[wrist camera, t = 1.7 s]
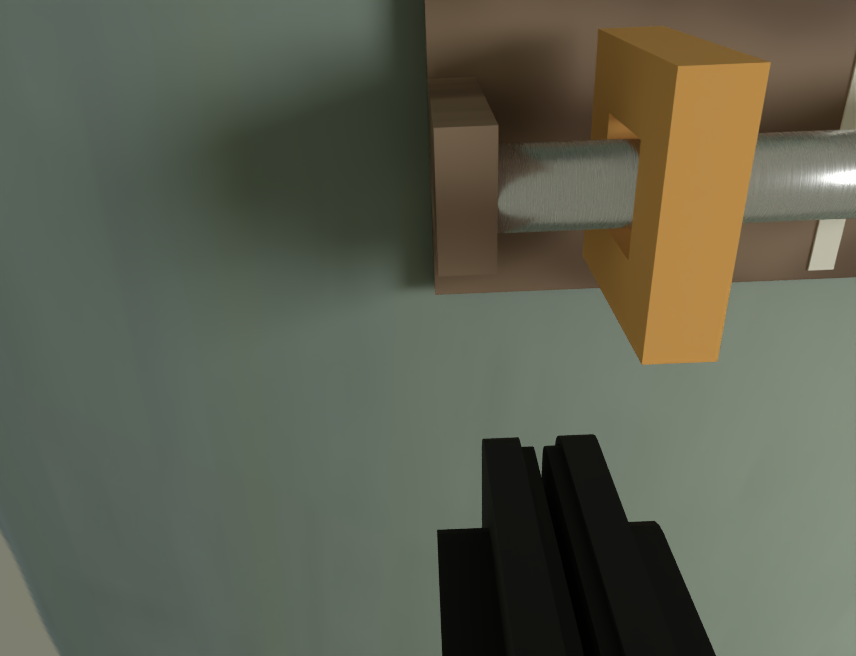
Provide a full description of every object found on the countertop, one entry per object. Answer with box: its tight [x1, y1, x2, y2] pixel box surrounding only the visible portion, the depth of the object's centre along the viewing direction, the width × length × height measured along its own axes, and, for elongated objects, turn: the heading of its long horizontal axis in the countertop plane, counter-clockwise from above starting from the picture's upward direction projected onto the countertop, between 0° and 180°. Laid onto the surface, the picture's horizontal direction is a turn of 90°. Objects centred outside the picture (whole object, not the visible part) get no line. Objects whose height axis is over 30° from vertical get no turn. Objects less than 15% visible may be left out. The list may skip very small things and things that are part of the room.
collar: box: [582, 26, 771, 365], centre depth 25 cm, size 9×2×9 cm, turn 2°
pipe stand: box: [424, 0, 856, 295], centre depth 28 cm, size 15×25×11 cm, turn 92°
